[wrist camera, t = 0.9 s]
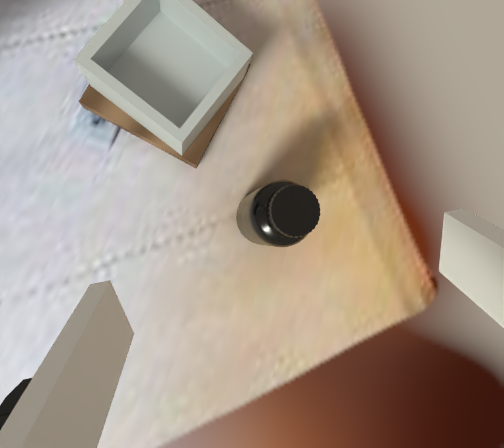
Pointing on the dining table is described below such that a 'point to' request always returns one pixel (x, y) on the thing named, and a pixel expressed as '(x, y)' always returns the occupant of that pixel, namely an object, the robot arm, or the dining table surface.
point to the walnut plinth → (118, 117)
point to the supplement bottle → (278, 214)
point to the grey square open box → (165, 66)
